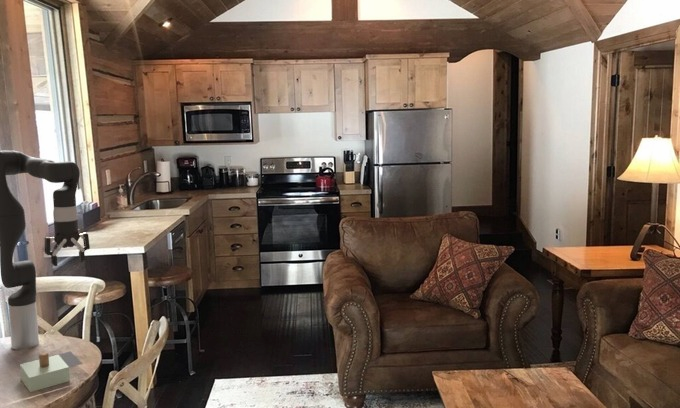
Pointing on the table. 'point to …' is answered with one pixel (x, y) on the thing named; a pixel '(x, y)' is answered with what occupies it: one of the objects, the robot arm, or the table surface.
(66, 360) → the mat
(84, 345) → the table surface
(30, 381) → the cover
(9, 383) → the table surface
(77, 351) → the table surface
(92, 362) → the table surface
